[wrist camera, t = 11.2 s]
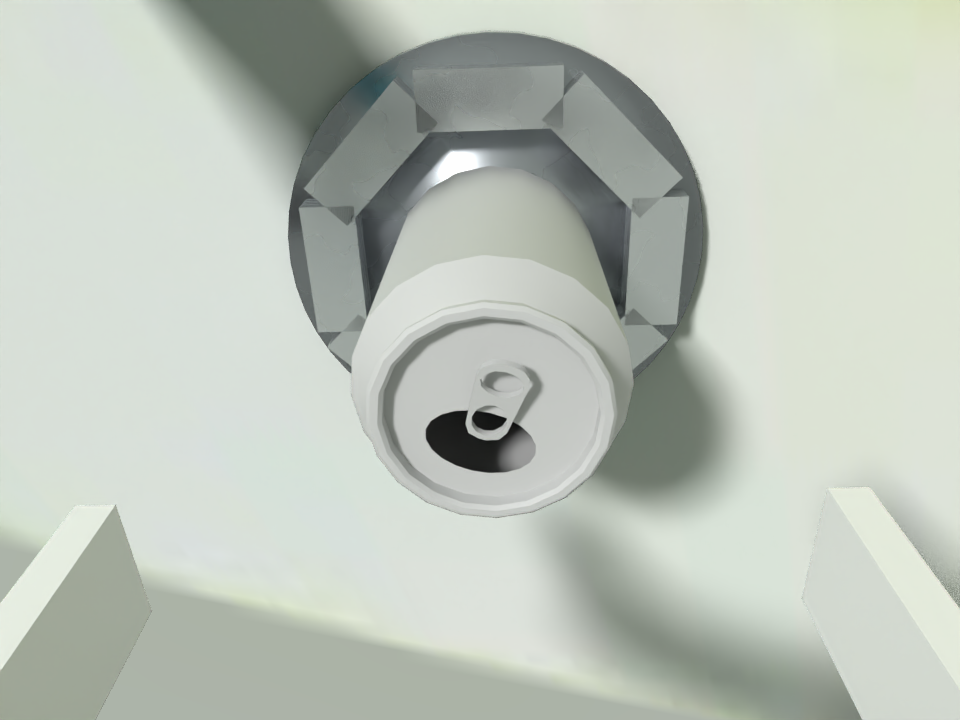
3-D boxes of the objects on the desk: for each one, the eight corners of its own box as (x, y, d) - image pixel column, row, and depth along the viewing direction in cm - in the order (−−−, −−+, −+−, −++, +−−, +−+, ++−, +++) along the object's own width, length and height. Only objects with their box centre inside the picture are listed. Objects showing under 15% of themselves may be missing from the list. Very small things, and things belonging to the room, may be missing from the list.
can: (381, 319, 30) (315, 509, 19) (420, 136, 26) (366, 244, 16) (557, 362, 31) (588, 568, 20) (618, 189, 27) (693, 326, 17)
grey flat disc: (322, 423, 33) (312, 448, 32) (260, 39, 26) (243, 44, 24) (678, 416, 33) (689, 442, 31) (720, 21, 25) (737, 25, 23)
